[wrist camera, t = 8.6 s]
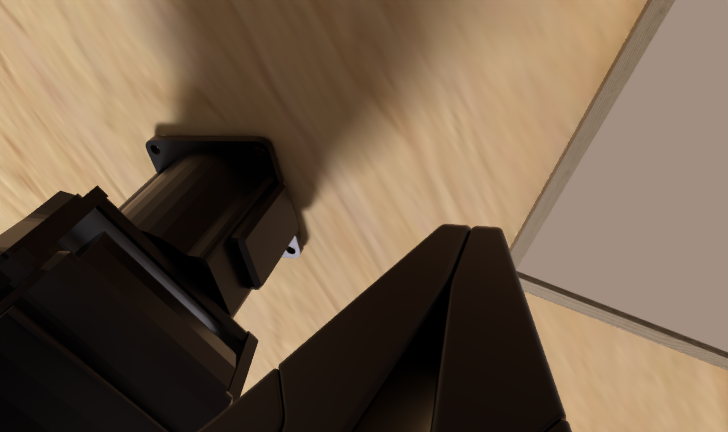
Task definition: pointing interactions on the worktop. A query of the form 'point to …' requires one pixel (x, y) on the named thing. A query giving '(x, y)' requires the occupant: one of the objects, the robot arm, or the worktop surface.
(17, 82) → the worktop surface
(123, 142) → the worktop surface
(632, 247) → the picture frame
